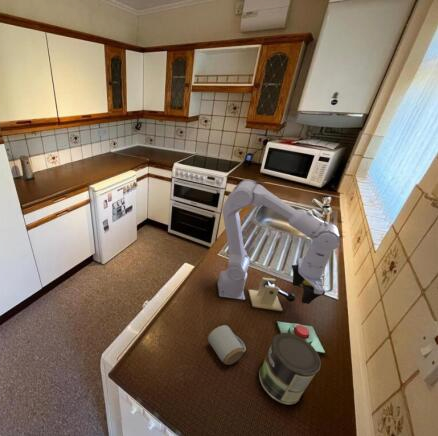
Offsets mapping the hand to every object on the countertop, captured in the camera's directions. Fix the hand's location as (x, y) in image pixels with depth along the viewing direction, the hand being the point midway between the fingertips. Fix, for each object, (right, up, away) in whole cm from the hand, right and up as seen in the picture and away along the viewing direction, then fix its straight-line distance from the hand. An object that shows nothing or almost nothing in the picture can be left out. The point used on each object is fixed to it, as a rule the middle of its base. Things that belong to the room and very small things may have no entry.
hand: (300, 293), depth 79 cm
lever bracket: (-7, -6, +10) cm, 14 cm away
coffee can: (-15, -20, -14) cm, 29 cm away
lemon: (+14, -2, +18) cm, 23 cm away
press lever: (-4, -3, +8) cm, 9 cm away
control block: (-3, -14, -3) cm, 14 cm away
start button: (-3, -11, -4) cm, 12 cm away
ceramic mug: (-27, -15, -6) cm, 31 cm away
